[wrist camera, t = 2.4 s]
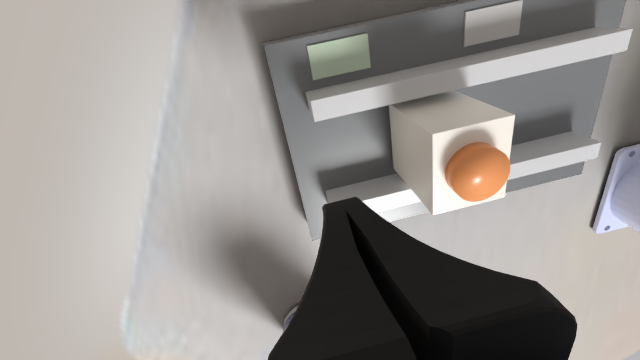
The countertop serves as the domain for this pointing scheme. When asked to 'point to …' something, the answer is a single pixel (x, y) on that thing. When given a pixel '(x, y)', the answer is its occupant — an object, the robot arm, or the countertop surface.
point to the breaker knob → (451, 149)
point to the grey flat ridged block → (442, 91)
